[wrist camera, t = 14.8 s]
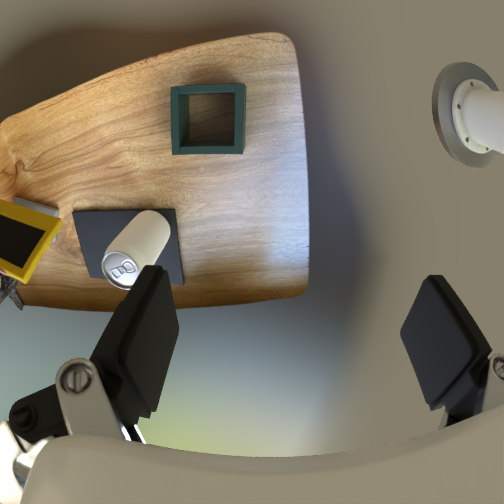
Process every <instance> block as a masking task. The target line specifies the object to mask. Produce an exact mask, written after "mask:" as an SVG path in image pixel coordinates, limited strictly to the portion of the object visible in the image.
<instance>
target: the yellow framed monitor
mask: <svg viewBox="0 0 504 504" xmlns="http://www.w3.org/2000/svg"><path fill="white" fill-rule="evenodd" d="M13 201H14V204H13V203H10V202H7V201H4V200H1V199H0V273H2V274H4V275H6V274H8V275H10V276H12V277H14V278H16V279H18V280H19V281H21V282H23V283H25V284H26V283H27V282H28V280H29V278H30V276H31V275H32V273H33V271H34V269H35V267H36V266H37V264H38V262H39V261H40V259H41V257H42V256H43V254H44V252H45V251H46V249H47V247H48V246H49V244H50V243H54V242H55V241H56V233H57V232H58V230H59V229H60V228H61V226H62V225H63V224H62V221H61V218H58V214H59V209H56V208H53V207H49V206H46V205H42V204H39V203H36V202H32V201H29V200H25V199H22V198H19V197H14V198H13Z"/></svg>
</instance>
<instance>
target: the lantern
mask: <svg viewBox="0 0 504 504" xmlns="http://www.w3.org/2000/svg"><path fill="white" fill-rule="evenodd" d="M19 283H20V281H19V280H18V279H16V278H14V277H12V276H10V275H8V274H6V275H4V274H2V273H0V303H1V302H2V301H3V300H4V299H5V298H6V297H7V296H8V295H9V293H10V292H11V291H12V290H13V289H14V288H15V287H16V286H17V284H19Z"/></svg>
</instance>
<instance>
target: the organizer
mask: <svg viewBox="0 0 504 504" xmlns="http://www.w3.org/2000/svg"><path fill="white" fill-rule="evenodd" d="M200 94H235V129H234V141H190V142H189V95H200ZM245 120H246V86H245V84H203V85H188V86H177V87H171V141H172V155H188V154H243V151H244V148H245Z"/></svg>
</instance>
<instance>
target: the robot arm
mask: <svg viewBox="0 0 504 504" xmlns="http://www.w3.org/2000/svg"><path fill="white" fill-rule="evenodd" d="M452 115H453V122H454V126H455V129H456V131H457V134H458V136H459V138H460V140H461V141H462V142H463V144H464V145H465V146H466V147H467V148H468V149H470V150H472V151H474V152H476V153H481V154H483V153H487V152H489V151H491V150H492V149H493V150H495V151H498V152H500V153H502V154H504V92H499V91H493V90H491V89H490V88H489V87H488V86H487V85H486V84H484V83H483V82H481V81H479V80H475V79H467V80H464V81H463V82H461V83H460V84H459V85H458V87H457V88H456V90H455V93H454V96H453V102H452ZM178 333H179V325H178V320H177V315H176V310H175V305H174V301H173V296H172V291H171V285H170V280H169V274H168V271H167V270H163V267H162V266H160V265H145V266H144V267H143V269H142V270H141V272H140V274H139V275H138V277H137V279H136V280H135V282H134V284H133V285H132V287H131V289H130V290H129V292H128V294H127V296H126V297H125V299H124V300H123V301H121V302H120V304H119V305H118V307H117V308H116V310H115V312H114V314H113V316H112V317H111V319H110V321H109V323H108V325H107V327H106V328H105V330H104V332H103V334H102V336H101V338H100V340H99V341H98V343H97V345H96V347H95V349H94V351H93V353H92V355H91V357H90V359H89V360H87V359H84V358H75V359H71V360H69V361H67V362H66V363H64V364H63V365H62V366H61V367H60V369H59V370H58V372H57V375H56V384H53V385H51V386H49V387H47V388H44V389H42V390H40V391H38V392H35V393H33V394H31V395H29V396H26V397H24V398H22V399H20V400H18V401H17V402H15V403H14V405H13V406H12V408H11V410H10V413H9V421H6V420H3V421H2V422H1V423H0V504H504V355H502V354H494V355H492V357H491V358H490V359H488V358H487V357H488V355H489V354H490V353H491V351H492V349H491V347H490V345H489V344H488V342H487V340H486V338H485V337H484V335H483V334H482V332H481V330H480V329H479V327H478V325H477V324H476V322H475V321H474V319H473V318H472V316H471V315H470V313H469V312H468V310H467V309H466V307H465V306H464V304H463V303H462V301H461V300H460V299H459V297H458V296H457V294H456V293H455V291H454V290H453V289H452V288H451V286H450V285H449V283H448V282H447V281H446V279H445V278H444V277H443V276H442V275H429V276H428V277H427V278H426V279H425V280H424V281H423V283H422V285H421V288H420V290H419V292H418V294H417V297H416V299H415V301H414V303H413V306H412V308H411V310H410V312H409V314H408V316H407V318H406V320H405V322H404V324H403V326H402V328H401V331H400V335H401V339H402V341H403V343H404V346H405V348H406V350H407V353H408V355H409V358H410V360H411V363H412V365H413V368H414V371H415V373H416V376H417V379H418V381H419V384H420V387H421V390H422V393H423V395H424V398H425V401H426V403H427V404H429V407H430V409H431V411H433V410H436V409H439V408H442V406H444V405H445V408H446V409H445V412H444V415H443V418H442V420H441V424H440V426H439V429H438V430H436V431H433V432H430V433H427V434H424V435H421V436H417V437H414V438H410V439H407V440H403V441H399V442H395V443H391V444H387V445H382V446H377V447H372V448H367V449H361V450H355V451H349V452H342V453H334V454H325V455H314V456H300V457H299V456H298V457H243V456H227V455H217V454H207V453H198V452H191V451H184V450H177V449H172V448H166V447H161V446H156V445H151V444H146V443H145V441H144V439H143V437H142V435H141V434H140V432H139V430H138V428H137V426H136V424H137V423H138V419H139V416H140V417H144V418H150V415H151V412H155V411H156V410H157V406H158V403H159V399H160V395H161V391H162V388H163V385H164V381H165V378H166V374H167V370H168V367H169V364H170V360H171V357H172V354H173V350H174V347H175V344H176V340H177V337H178Z"/></svg>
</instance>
